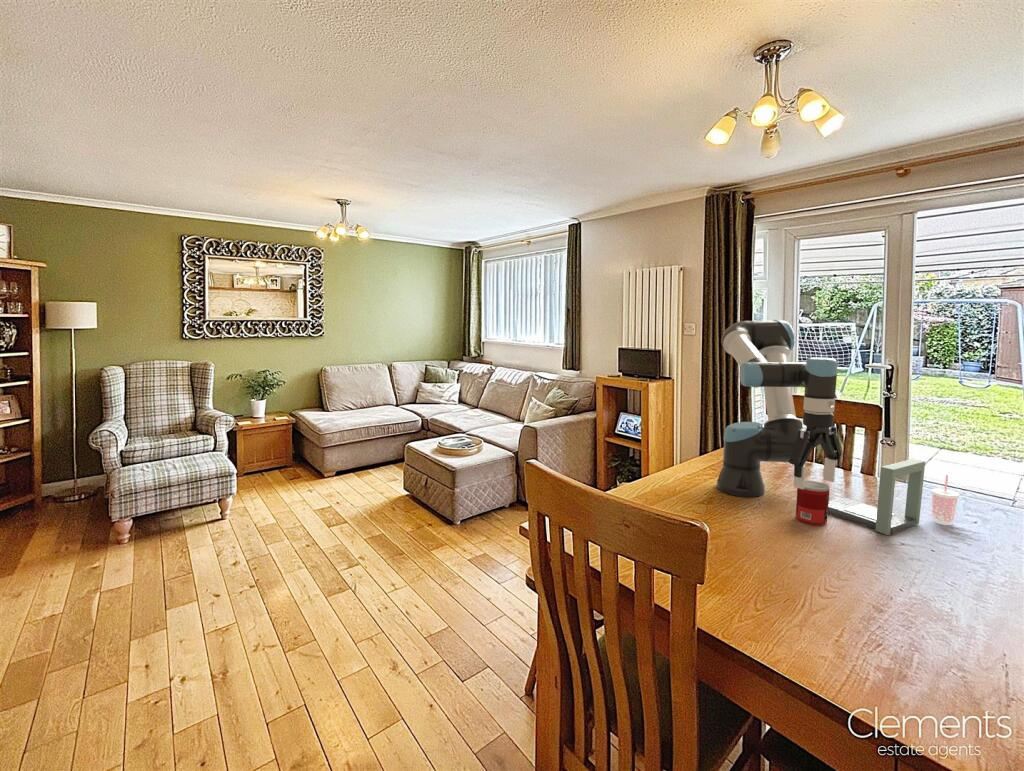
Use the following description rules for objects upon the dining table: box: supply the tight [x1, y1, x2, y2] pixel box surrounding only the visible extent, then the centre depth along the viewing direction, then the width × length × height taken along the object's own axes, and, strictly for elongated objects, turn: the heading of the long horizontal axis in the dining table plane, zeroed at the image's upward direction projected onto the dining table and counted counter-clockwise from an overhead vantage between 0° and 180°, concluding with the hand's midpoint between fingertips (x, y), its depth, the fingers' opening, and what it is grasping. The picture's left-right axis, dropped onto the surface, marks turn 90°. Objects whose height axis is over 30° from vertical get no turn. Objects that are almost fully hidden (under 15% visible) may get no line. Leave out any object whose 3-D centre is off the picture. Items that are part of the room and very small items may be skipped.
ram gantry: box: [874, 458, 926, 536], centre depth 139 cm, size 3×16×18 cm, turn 116°
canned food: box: [795, 480, 830, 527], centre depth 146 cm, size 8×8×11 cm
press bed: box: [828, 496, 916, 535], centre depth 148 cm, size 20×12×2 cm, turn 26°
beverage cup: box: [931, 474, 960, 526], centre depth 143 cm, size 6×6×14 cm
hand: (814, 484), depth 145 cm, fingers open, 13 cm apart
